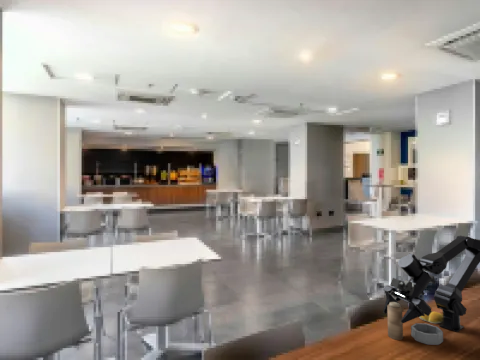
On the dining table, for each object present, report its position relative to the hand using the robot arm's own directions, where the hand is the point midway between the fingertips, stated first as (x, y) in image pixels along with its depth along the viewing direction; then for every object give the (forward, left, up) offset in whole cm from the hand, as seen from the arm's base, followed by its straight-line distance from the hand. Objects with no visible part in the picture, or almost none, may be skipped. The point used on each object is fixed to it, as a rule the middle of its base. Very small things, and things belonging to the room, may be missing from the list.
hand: (392, 317), depth 121 cm
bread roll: (-27, +2, -7) cm, 28 cm away
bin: (-8, +8, -7) cm, 13 cm away
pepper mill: (-1, 0, -7) cm, 7 cm away
